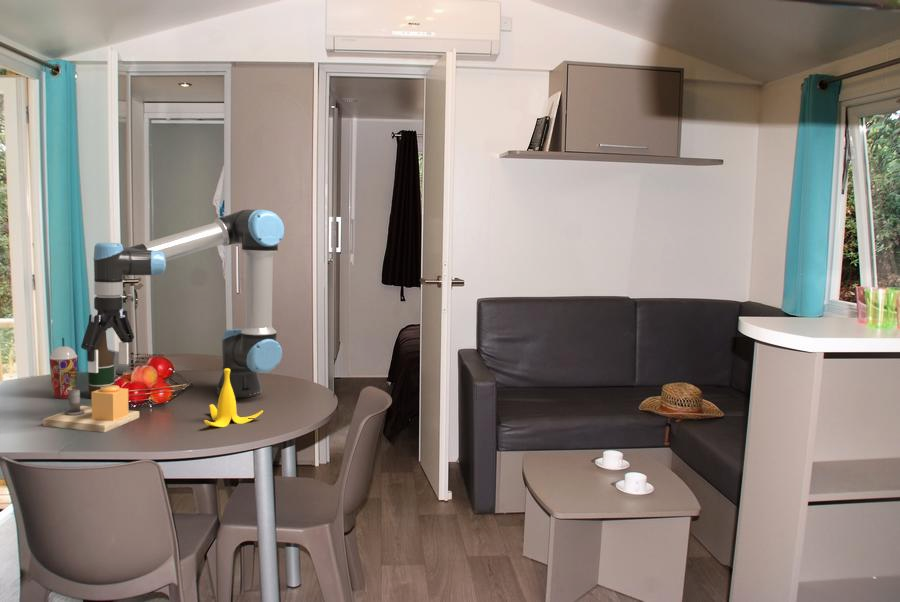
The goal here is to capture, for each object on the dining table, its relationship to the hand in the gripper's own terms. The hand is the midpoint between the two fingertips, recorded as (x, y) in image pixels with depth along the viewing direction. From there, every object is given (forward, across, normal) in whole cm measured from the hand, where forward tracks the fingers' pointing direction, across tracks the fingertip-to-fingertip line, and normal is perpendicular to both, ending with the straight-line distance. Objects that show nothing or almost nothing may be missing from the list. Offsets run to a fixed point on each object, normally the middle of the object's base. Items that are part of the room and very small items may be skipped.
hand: (108, 368), depth 209 cm
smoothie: (+17, -22, -33) cm, 43 cm away
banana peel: (+17, -10, +31) cm, 37 cm away
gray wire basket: (+17, -56, -32) cm, 67 cm away
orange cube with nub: (+15, 0, 0) cm, 15 cm away
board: (+17, 0, -6) cm, 18 cm away
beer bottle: (+17, -26, -22) cm, 38 cm away
